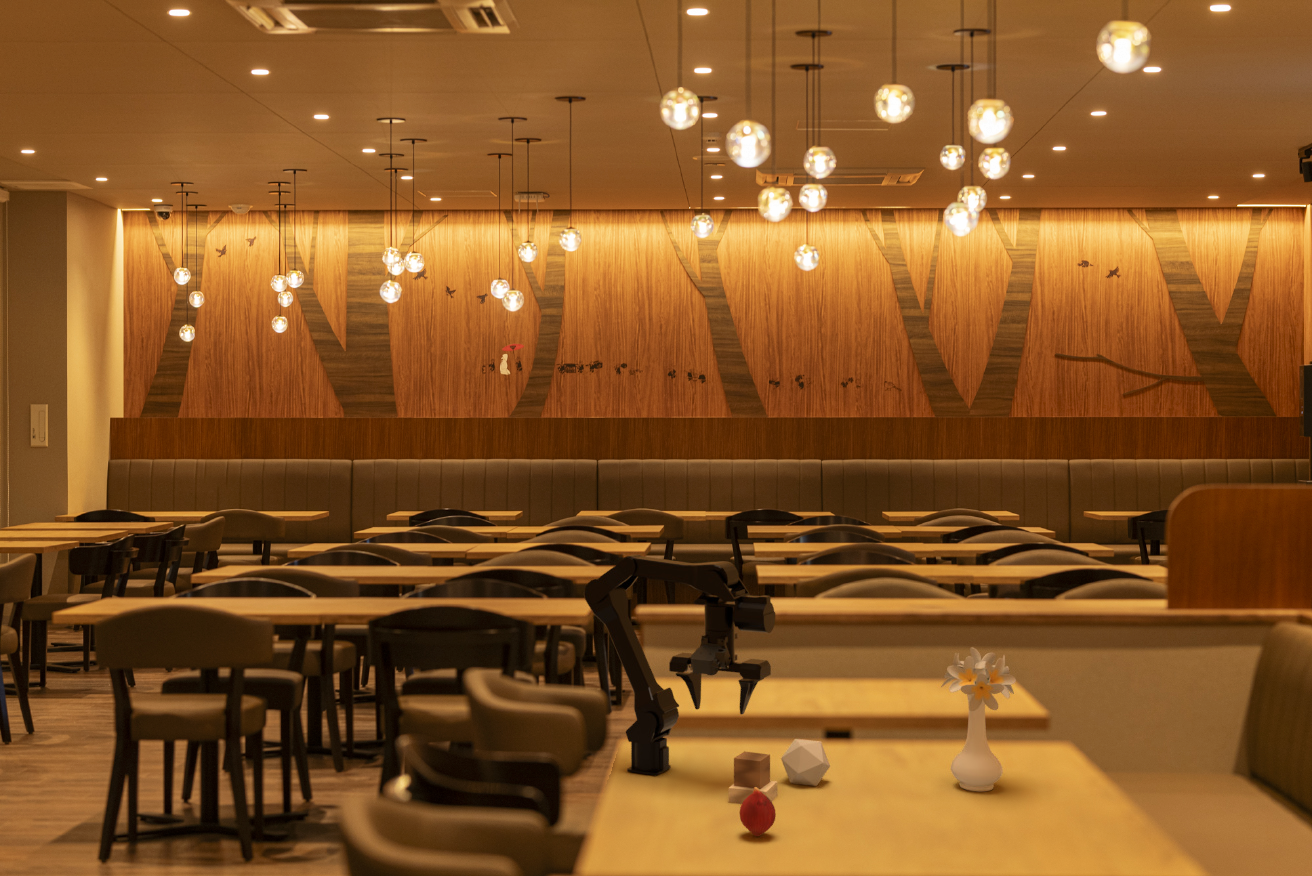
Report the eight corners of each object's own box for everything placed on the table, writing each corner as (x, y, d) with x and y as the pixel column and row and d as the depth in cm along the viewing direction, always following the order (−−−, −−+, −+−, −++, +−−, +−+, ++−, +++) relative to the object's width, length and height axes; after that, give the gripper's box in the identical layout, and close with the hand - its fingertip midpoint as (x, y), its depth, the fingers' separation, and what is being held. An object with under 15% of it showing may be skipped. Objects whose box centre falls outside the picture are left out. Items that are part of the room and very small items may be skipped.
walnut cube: (733, 785, 231) (733, 758, 231) (744, 778, 235) (744, 751, 235) (759, 789, 229) (759, 761, 228) (770, 782, 233) (770, 754, 233)
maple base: (728, 804, 230) (728, 787, 229) (740, 794, 236) (740, 777, 236) (766, 808, 227) (766, 791, 227) (777, 797, 234) (777, 781, 234)
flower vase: (958, 803, 229) (958, 663, 228) (932, 774, 247) (932, 644, 247) (1030, 802, 229) (1031, 662, 229) (999, 774, 248) (999, 644, 247)
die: (835, 783, 244) (814, 736, 248) (837, 771, 236) (815, 724, 241) (796, 800, 243) (775, 753, 248) (796, 789, 236) (775, 740, 240)
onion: (778, 832, 213) (779, 784, 212) (770, 843, 207) (770, 794, 207) (744, 829, 215) (744, 781, 214) (735, 839, 209) (735, 790, 209)
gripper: (656, 631, 240) (656, 715, 240) (748, 639, 232) (748, 726, 232) (682, 623, 250) (682, 703, 250) (771, 630, 242) (771, 713, 242)
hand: (719, 711), depth 243 cm, fingers open, 9 cm apart
